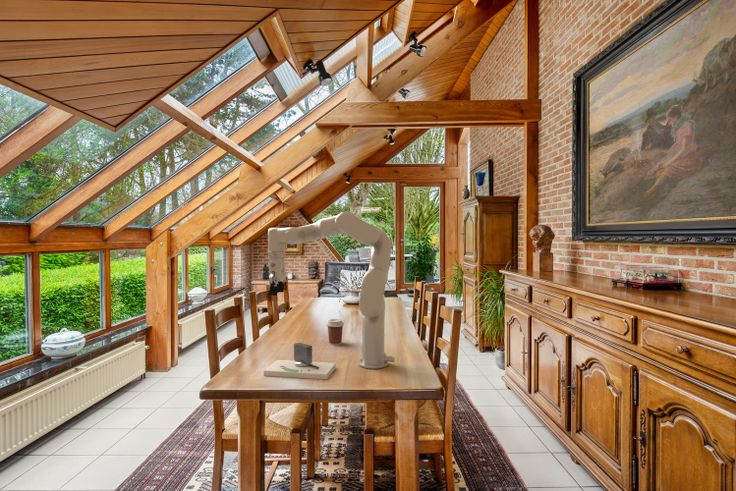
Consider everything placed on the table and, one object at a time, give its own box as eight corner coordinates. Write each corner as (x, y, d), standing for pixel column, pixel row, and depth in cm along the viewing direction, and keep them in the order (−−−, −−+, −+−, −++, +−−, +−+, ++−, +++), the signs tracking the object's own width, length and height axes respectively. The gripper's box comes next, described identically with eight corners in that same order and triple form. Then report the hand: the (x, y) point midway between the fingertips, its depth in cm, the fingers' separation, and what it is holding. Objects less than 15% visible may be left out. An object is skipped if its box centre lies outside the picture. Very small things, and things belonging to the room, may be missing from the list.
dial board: (335, 367, 171) (335, 362, 171) (326, 379, 157) (326, 373, 157) (277, 364, 176) (277, 359, 176) (263, 375, 162) (263, 370, 162)
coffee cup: (325, 345, 205) (325, 322, 204) (327, 341, 214) (326, 318, 213) (343, 345, 205) (343, 322, 204) (344, 341, 214) (344, 318, 214)
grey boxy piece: (290, 363, 169) (290, 344, 169) (303, 359, 175) (303, 341, 174) (312, 370, 161) (311, 350, 160) (324, 366, 166) (324, 347, 166)
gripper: (278, 256, 172) (279, 296, 172) (290, 254, 189) (290, 291, 189) (261, 256, 172) (262, 296, 173) (274, 254, 190) (275, 291, 190)
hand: (277, 293), depth 181 cm, fingers open, 9 cm apart
